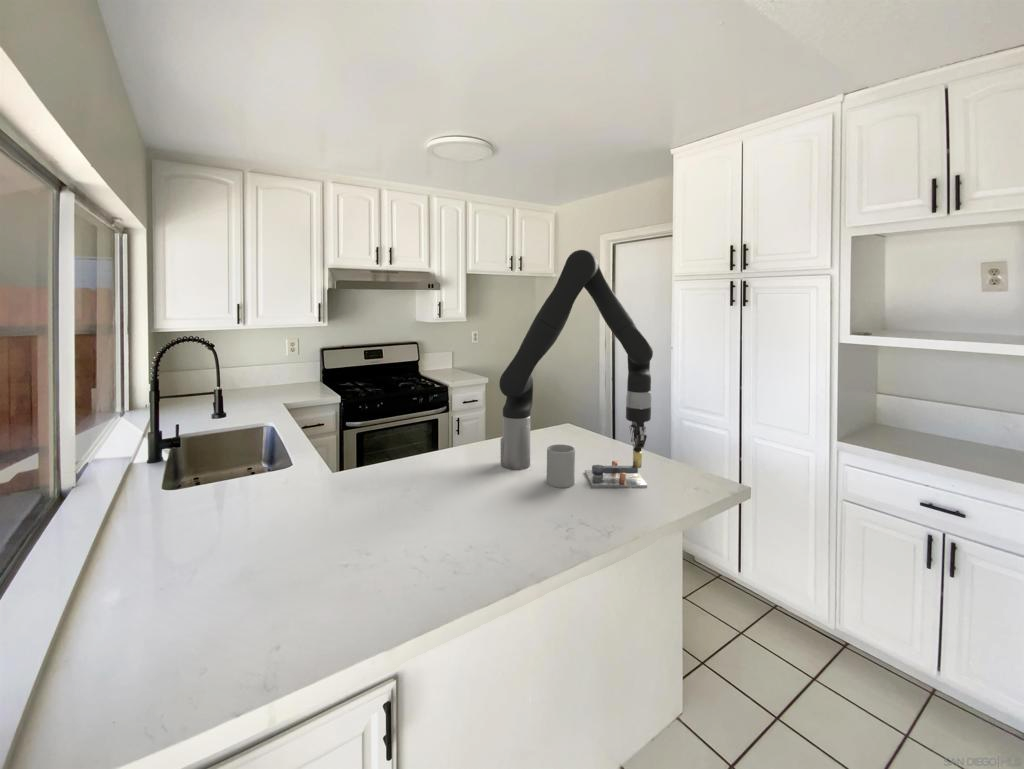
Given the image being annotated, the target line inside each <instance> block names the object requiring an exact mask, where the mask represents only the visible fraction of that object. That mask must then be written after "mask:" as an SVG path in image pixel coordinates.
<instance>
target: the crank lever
mask: <svg viewBox="0 0 1024 769" xmlns="http://www.w3.org/2000/svg"><path fill="white" fill-rule="evenodd" d="M632 453H633V454H632V465H617V466H612V465H603V464H602V465H601V464H593V465H592V466H591V470H592V473H593V474H598V475H600V474H604V473H620V472H624V473H638V474H639V469H641V468H642V462H643V461H642V460H643V451H642V450H641V451H633V450H632Z"/></svg>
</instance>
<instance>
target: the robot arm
mask: <svg viewBox="0 0 1024 769" xmlns="http://www.w3.org/2000/svg"><path fill="white" fill-rule="evenodd" d="M598 262H599V261H598V259H597V257H596V255H595V254H594V253H592V252H591V251H590V250H586V249H578V250H575V251H573V252H571V253H570V254H569V256H568V257H567V259H566V261H565V264H564V266H563V268H562V270H561V273H560V275H559V277H558V280H557V282H556V284H555V285H554V287H553V289H552V291H551V292H550V294H549V296H548V297H547V298H546V299H545V301H544V302H543V304H542V306H541V307H540V309H539V310H538V312H537V313H536V315H535V318H534V319H533V321H532V323H531V324H530V327H529V329H528V330H527V333H526V335H525V337H524V338H523V340H522V342H521V344H520V346H519V349H518V350H517V352H516V354H515V356H514V357H513V359H512V360H511V361H510V363H509V364H508V366H507V367H506V368H505V369H504V371H503V373H502V374H501V376H500V378H499V382H498V384H499V390H500V392H501V393H502V394H503V396H505V397H506V399H505V403H504V405H503V408H502V437H501V438H500V466H501V467H504V468H505V469H508V470H524V469H528V468H529V467H531V411H532V406H533V398H534V397H533V396H534V379H533V376H532V373H533V371H534V370H535V367H537V364H538V363H539V362H540V361H541V360H542V358H544V356H545V355H546V354H547V353H548V351H549V350H550V349H551V348H553V346H554V344H555V343H556V341H557V340H558V338H559V336H560V334H561V333H562V332H563V329H564V327H565V326H566V323H567V321H568V320H569V316H570V314H571V311H572V309H573V305H574V303H575V302H576V300H577V298H578V296H579V294H580V293H581V291H582V290H583V289H585V290H586V291H587V293H588V294H589V296H590V297H591V298H592V300H593V301H594V304H595V305H596V307H597V310H598V311H599V313H600V315H601V318H603V320H604V321H605V324H606V325H607V326H608V328H609V329H610V331H611V332H612V334H613V336H614V337H615V338H616V339H617V340H618V341H619V343H620V344H621V346H622V348H623V349H624V352H626V355H627V371H628V374H627V387H626V388H627V390H626V400H625V401H626V402H625V419H626V420H627V421H629V422H631V424H629V432H630V442H631V443H632V447H633V449H632V452H633V451H641V452H642V449H643V448H644V447H645V444H646V440H647V434H646V426H645V423H648V422H649V421H651V419H652V418H651V417H652V393H651V388H652V387H651V386H652V377H651V372H650V368H651V360H652V359H653V357H654V356H653V354H654V350H653V348H652V347H653V346H651V345H650V343H649V342H648V340H647V339H646V337H645V336H644V335H643V333H641V331H640V330H639V328H638V327H637V325H636V323H635V321H634V320H633V318H632V316H631V315H630V314H629V312H628V311H627V309H626V308H625V306H624V305H623V304H622V302H621V301H620V299H619V298H618V297H617V295H616V294H615V293H614V292H613V290H612V288H611V286H610V285H609V283H608V282H607V280H606V278H605V276H604V274H603V272H602V270H601V268H600V265H599V263H598Z"/></svg>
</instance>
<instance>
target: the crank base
mask: <svg viewBox="0 0 1024 769" xmlns="http://www.w3.org/2000/svg"><path fill="white" fill-rule="evenodd" d="M611 466H618V461H617V460H612V461H611ZM584 474H585V477H586V478H587V480H588V482H589V485H590V486H591V488H592V489H596V488H597V489H598V488H599V489H602V488H605V489H607V488H616V489H617V488H618V489H619V488H648V484H647V483H646V481H645V480H644V479H643V478H642V476H641V475H640V473H639V472H638V473H624V472H620V473H604V474H600V475H598V474H593V473H592V469H585V470H584Z"/></svg>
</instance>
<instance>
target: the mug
mask: <svg viewBox="0 0 1024 769" xmlns="http://www.w3.org/2000/svg"><path fill="white" fill-rule="evenodd" d="M575 461H576V449H575V447H574V446H572V445H569V444H560V443H559V444H552V445H548V446H547V448H546V484H547V485H549V486H550V487H552V488H557V489H567V488H570V487H573V486H574V485H575V472H576V471H575V470H576V469H575V468H576V462H575Z"/></svg>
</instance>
